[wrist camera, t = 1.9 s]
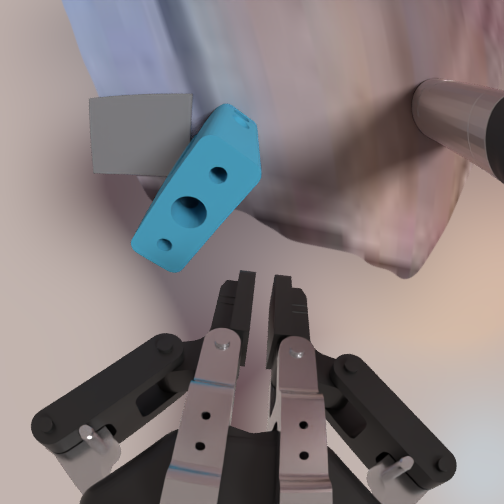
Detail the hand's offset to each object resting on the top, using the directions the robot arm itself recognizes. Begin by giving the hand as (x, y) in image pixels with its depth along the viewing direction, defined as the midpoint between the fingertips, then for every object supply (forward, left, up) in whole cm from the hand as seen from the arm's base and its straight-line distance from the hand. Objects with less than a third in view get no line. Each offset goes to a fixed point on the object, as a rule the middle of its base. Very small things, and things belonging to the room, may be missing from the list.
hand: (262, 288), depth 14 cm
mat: (+19, 0, -29) cm, 35 cm away
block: (+8, 0, -29) cm, 30 cm away
